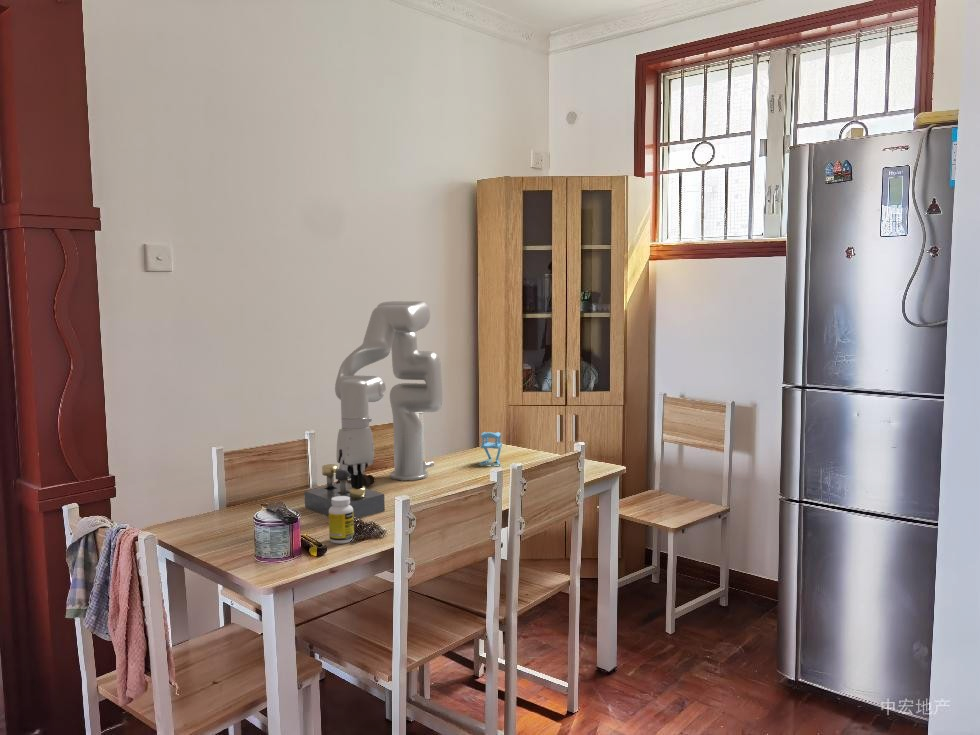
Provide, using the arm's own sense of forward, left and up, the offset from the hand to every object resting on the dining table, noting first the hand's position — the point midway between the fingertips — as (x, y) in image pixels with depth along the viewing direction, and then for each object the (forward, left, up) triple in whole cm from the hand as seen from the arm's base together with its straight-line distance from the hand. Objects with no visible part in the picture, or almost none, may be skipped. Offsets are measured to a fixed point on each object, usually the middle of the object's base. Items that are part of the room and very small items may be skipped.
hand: (357, 487), depth 224 cm
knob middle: (0, -7, -4) cm, 8 cm away
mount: (0, -7, -8) cm, 11 cm away
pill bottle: (+16, +16, -8) cm, 24 cm away
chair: (-69, -17, -8) cm, 72 cm away
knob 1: (0, -14, -4) cm, 15 cm away
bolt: (-15, -22, -8) cm, 28 cm away
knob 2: (0, 0, -8) cm, 8 cm away
